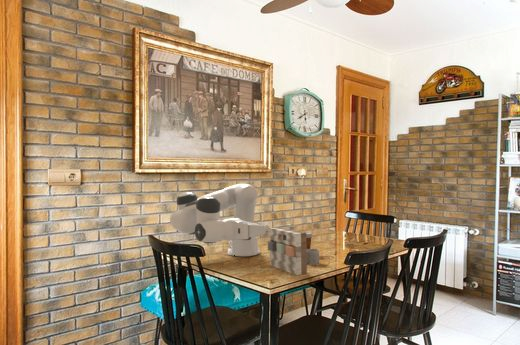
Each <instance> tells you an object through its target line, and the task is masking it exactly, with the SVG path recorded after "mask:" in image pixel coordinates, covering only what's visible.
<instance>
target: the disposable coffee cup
mask: <svg viewBox="0 0 520 345" xmlns="http://www.w3.org/2000/svg"><path fill="white" fill-rule="evenodd" d="M304 232H305V233H306V241H307V249H311V244H312V237H313V234H312V232H310V231H304Z"/></svg>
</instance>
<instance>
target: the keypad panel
mask: <svg viewBox="0 0 520 345" xmlns="http://www.w3.org/2000/svg"><path fill="white" fill-rule="evenodd" d="M305 232H306V231H300V230H295V229H289V228H283V227H269V241H276V244H278V243H283V244H285V252H286V246H295V256H293V257H290V256H287V255H286V253H284V254H280V253H277V251H270V250H269V264H270V265H269V266H271V267H274V268H277V269H279V270H282V271H285V272H288V273H289V274H292V275H295V276H299V275H306V274H308V272H307V271H308V267H307V266H308V264H307V241H306V233H305Z"/></svg>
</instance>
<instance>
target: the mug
mask: <svg viewBox="0 0 520 345" xmlns="http://www.w3.org/2000/svg"><path fill="white" fill-rule="evenodd" d="M318 265H320V249H317V248H310V249H307V266H318Z"/></svg>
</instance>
